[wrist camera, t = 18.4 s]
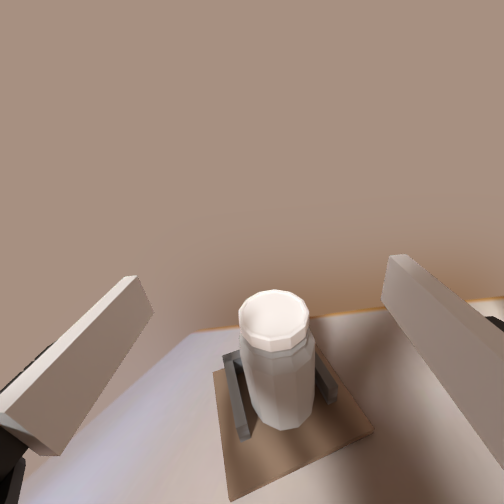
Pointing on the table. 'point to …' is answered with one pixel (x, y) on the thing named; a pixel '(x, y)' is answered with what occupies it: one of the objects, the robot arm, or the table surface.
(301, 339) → the jar
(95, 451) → the table surface
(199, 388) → the table surface
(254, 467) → the mounting board
